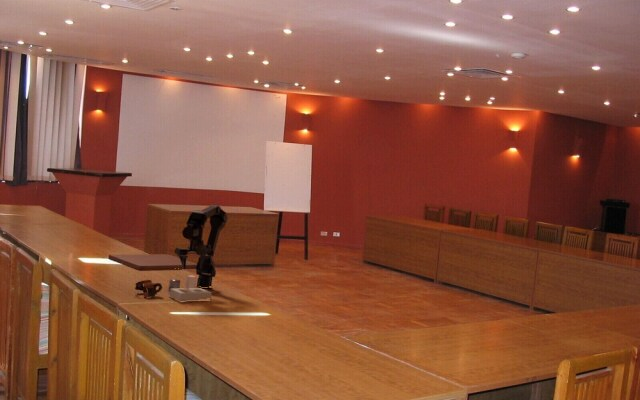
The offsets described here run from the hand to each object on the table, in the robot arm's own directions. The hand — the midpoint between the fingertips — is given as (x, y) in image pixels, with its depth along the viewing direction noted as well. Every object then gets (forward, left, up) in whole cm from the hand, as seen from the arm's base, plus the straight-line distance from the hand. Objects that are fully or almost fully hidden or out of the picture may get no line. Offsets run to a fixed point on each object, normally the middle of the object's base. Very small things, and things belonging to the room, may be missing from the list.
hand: (192, 269), depth 336 cm
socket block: (+7, +13, -11) cm, 19 cm away
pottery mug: (+24, +4, -12) cm, 27 cm away
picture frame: (-17, -72, -12) cm, 75 cm away
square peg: (0, 0, -11) cm, 11 cm away
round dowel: (+8, -1, -11) cm, 14 cm away
